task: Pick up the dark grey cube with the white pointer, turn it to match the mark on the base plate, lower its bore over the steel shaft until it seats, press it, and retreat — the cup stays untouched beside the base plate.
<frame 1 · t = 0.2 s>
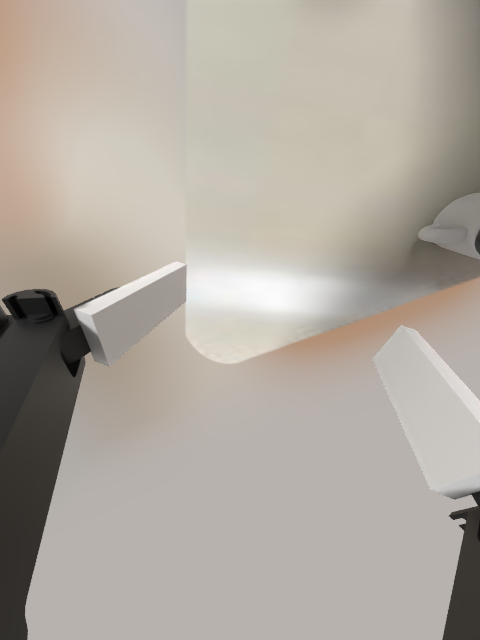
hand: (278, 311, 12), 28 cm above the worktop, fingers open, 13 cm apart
cup: (447, 224, 28), on the worktop
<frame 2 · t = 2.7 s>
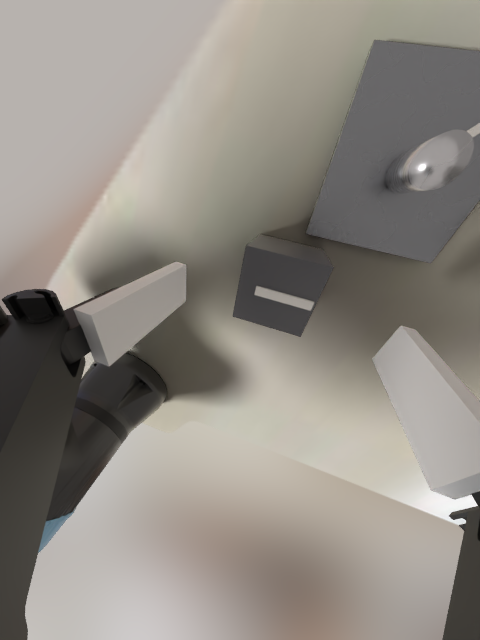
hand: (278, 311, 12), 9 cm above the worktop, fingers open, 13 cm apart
dark grey cube: (281, 271, 19), on the worktop
base plate: (400, 173, 13), on the worktop
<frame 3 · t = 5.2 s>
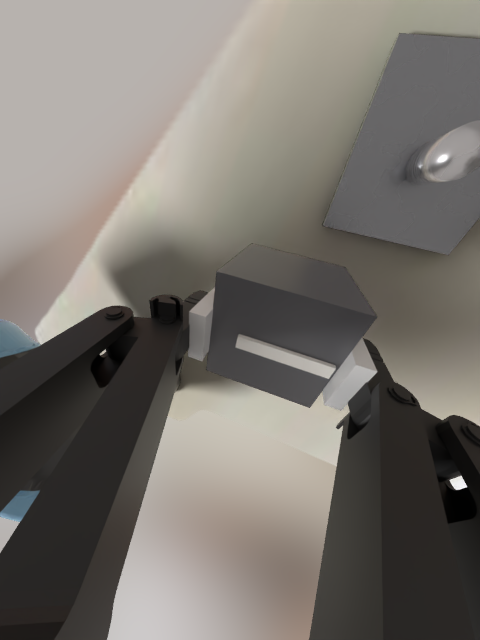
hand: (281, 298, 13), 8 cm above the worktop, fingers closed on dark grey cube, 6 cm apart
dark grey cube: (282, 296, 13), point 8 cm above the worktop, touching gripper
base plate: (421, 165, 13), on the worktop
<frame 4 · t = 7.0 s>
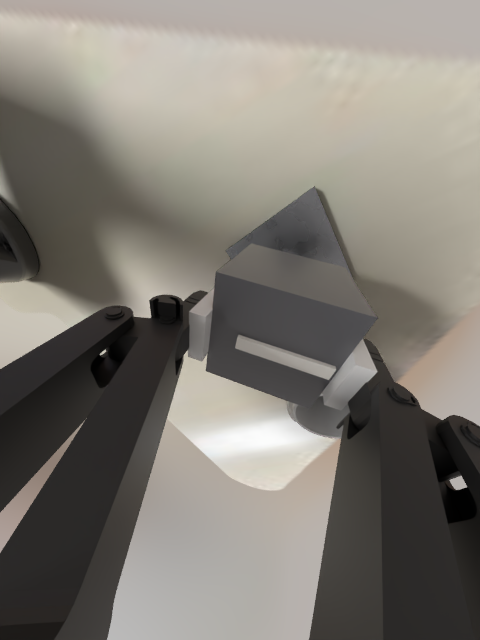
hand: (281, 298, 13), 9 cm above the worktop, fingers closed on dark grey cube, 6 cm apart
cup: (314, 361, 27), on the worktop
dark grey cube: (282, 296, 13), point 9 cm above the worktop, touching gripper
base plate: (288, 264, 20), on the worktop
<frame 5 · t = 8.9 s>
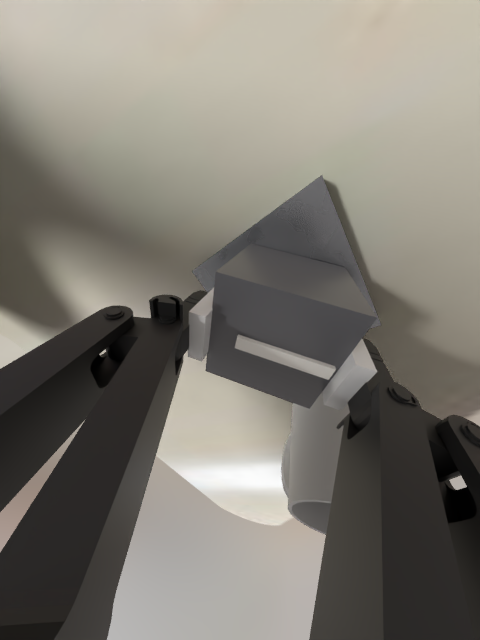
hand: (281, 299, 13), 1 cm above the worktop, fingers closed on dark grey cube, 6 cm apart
cup: (317, 408, 21), on the worktop
dark grey cube: (282, 296, 13), point 1 cm above the worktop, touching gripper
base plate: (281, 291, 14), on the worktop
when the fingers open (1 cm above the worktop, at t = 9.2 s): dark grey cube stays where it is, resting on base plate.
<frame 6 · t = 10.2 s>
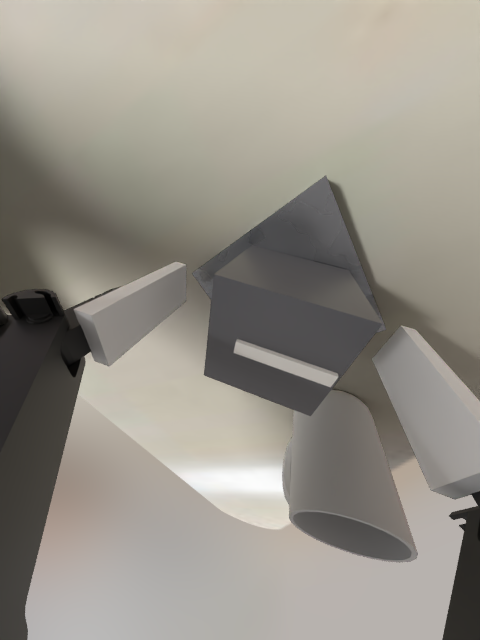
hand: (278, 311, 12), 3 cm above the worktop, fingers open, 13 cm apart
cup: (319, 413, 20), on the worktop
dark grey cube: (283, 299, 13), point 1 cm above the worktop, touching base plate
base plate: (283, 293, 14), on the worktop
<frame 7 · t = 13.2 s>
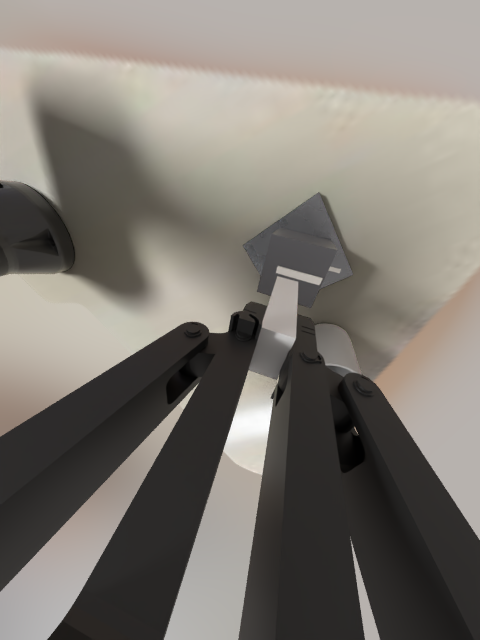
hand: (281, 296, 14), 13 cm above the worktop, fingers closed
cup: (317, 345, 30), on the worktop
dark grey cube: (296, 259, 23), point 1 cm above the worktop, touching base plate
base plate: (295, 257, 24), on the worktop
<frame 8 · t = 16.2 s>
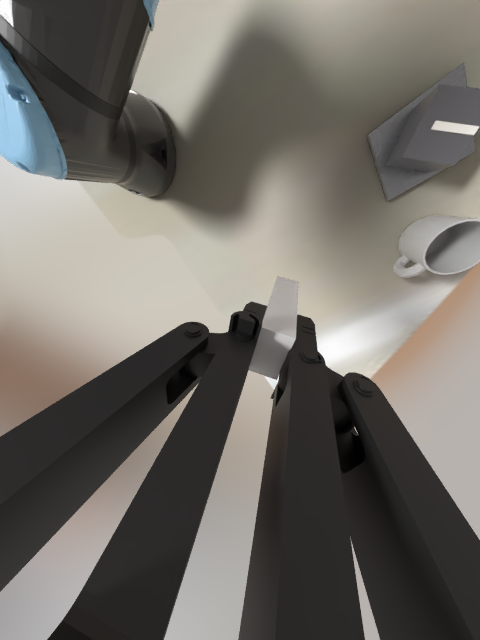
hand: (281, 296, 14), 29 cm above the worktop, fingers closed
cup: (413, 245, 33), on the worktop
dark grey cube: (421, 141, 26), point 1 cm above the worktop, touching base plate
base plate: (416, 144, 27), on the worktop
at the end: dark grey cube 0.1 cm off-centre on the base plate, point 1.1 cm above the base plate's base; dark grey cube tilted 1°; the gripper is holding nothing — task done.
